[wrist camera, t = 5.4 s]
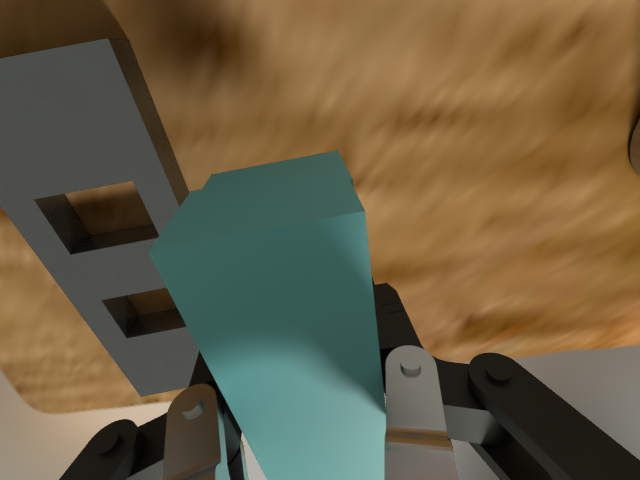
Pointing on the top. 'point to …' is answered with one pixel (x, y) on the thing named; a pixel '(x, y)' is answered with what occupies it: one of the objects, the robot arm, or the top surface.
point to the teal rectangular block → (285, 313)
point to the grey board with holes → (91, 172)
